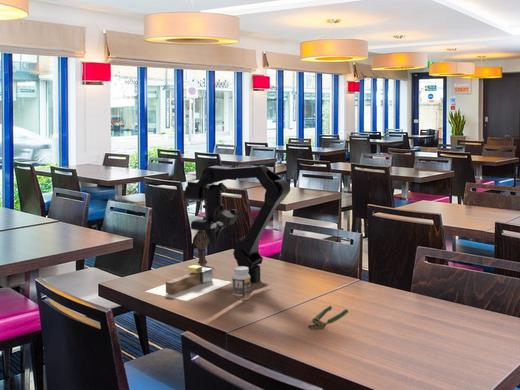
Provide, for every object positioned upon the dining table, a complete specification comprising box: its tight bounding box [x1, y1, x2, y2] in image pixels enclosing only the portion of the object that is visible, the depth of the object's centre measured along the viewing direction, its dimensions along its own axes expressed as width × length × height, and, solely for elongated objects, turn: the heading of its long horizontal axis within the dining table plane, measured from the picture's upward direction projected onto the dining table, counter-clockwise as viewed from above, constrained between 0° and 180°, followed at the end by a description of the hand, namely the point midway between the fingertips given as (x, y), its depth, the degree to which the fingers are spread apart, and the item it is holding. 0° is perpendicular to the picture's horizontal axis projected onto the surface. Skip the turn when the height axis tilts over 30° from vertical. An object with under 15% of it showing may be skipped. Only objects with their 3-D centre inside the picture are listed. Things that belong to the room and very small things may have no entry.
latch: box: [187, 264, 203, 274], centre depth 207 cm, size 3×4×2 cm
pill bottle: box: [232, 265, 252, 301], centre depth 195 cm, size 6×6×10 cm
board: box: [144, 277, 233, 302], centre depth 205 cm, size 18×24×1 cm
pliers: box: [307, 305, 349, 330], centre depth 177 cm, size 20×6×1 cm, turn 149°
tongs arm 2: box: [168, 273, 200, 294], centre depth 202 cm, size 14×1×4 cm, turn 146°
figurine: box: [192, 218, 210, 265], centre depth 236 cm, size 7×5×18 cm
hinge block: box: [199, 266, 213, 284], centre depth 211 cm, size 5×4×4 cm
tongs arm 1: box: [165, 272, 194, 294], centre depth 202 cm, size 14×1×4 cm, turn 146°
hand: (214, 245), depth 216 cm, fingers closed
